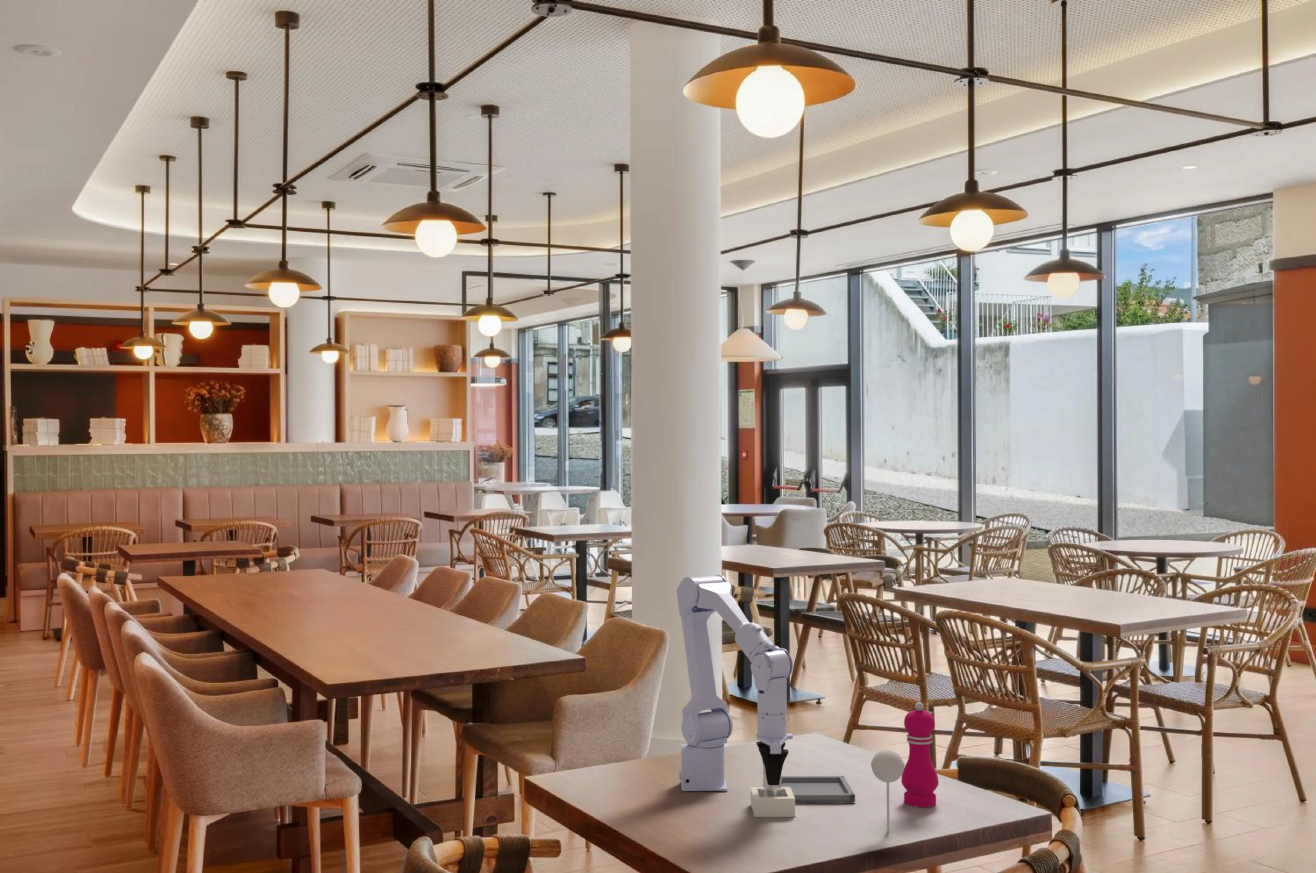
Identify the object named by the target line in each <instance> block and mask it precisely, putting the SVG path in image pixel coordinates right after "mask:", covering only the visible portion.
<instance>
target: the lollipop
mask: <svg viewBox="0 0 1316 873" xmlns="http://www.w3.org/2000/svg"><path fill="white" fill-rule="evenodd" d="M870 762H871V763H870V767H871V770H872V772H873V775H874V776H875V777H876V778H877V779H878V780H879V781H880V782H884V783H886V833H890V831H891V830H890V783H894V782H896V781H898V780H899V779H901V778H902V774H903V771H904V768H905V762H904V760H903V758H902V756H901V754H899V753H898V752H897V751H895V750H892V749H886V748H885V749H881V750H879V751H878V752H876V753H875V754H874V755H873V757H872V760H871V761H870Z"/></svg>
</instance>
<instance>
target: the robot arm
mask: <svg viewBox="0 0 1316 873" xmlns="http://www.w3.org/2000/svg"><path fill="white" fill-rule="evenodd" d="M675 592H676V598H677V605H678V613H679V617H680V620H681V625H682V626H681V627H682V628H681V629H682V635H683V642H684V643H683V644H684V650H685V658H686V666H687V671H688V680H689V688H690V696H691V698H690V700H689V701H688V702H687V703H686V705H685V706H684V707H683V708H682V709H681V713H682V722H681V733H682V736H683V738H684V740H685V741H686V743H682V744H680V771H679V781H680V787H681V791H682V792H726V791H727V792H728V785H727V781H726V778H725V744H728V739H729V738H730V737H731V736H732V733H733V728H734V727H733V719H732V717H731V715H730V713H729V709H728V703H727V702H726V701H724V700H723V699H722V698H721V697H719V696H718V695H717V688H716V681H715V673H714V672H715V671H714V666H713V660H712V652H711V646H710V645H711V644H710V643H711V642H710V637H709V636H710V635H709V630H708V620H709V619H710V617H711V615H713V614H715V613H717V614H718V615H719V616H720V618H722V620H723V621H724V622H725V623H727V625H728V626H729V627H730V628H731V630H733V631H734V632H735V634H734V641H735V643H736V644H737V646H738V647H739V648H740V650H741V651H742V652H743V654H744V655H745V656H746V657H747V659H748V660H749V662H750V663H751V664H750V670H751V673H752V676H753V680H754V687H755V689H756V690H757V692H756V693H757V694H756V696H757V697H756V698H757V710H756V711H757V713H756V714H757V715H756V716H757V718H756V719H757V722H756V723H757V733H756V740H758V741H756V742H755V743H756V746H757V748H758V752H759V754H760V756H761V761H762V763H763V762H764V766H765V772H766V779H767V783H768V785H779V782H780V778H781V776H782V771H783V767H784V764H785V760H786V759H787V756H788V755H789V749H784V748H785V746H786V742H787V741H788V740H793V738H794V735H793V733H791V732H789V733H787V732H788V727H787V726H788V725H787V722H788V721H787V719H788V716H787V715H788V714H787V712H788V711H787V710H788V709H787V706H788V705H787V701H788V700H787V693H788V692H787V684H788V683H787V682H788V680H787V678H789V677H790V676H791V675H792V673H793V668H794V667H793V666H794V664H793V658H792V656H791V655H790V653H789V651H788V650H787V649H785V648H783V647H779V646H778V645H775V644H774V643H773V641H771V639H770V637H768V635H767V634H766V633H765V632H764V630H763V627H762V626H761V625H760V624H758V623H756V622H750V621H749V620H748V619H747V617H746V615H745V614H744V612H743V610H742V609H741V608H740V606H739V604H738V603H737V602H736V600H735V599H734V597H733V596H732V592H733V591H732V585H731V584H730V583H729V582H728V579H726V577H725V576H724V575H722V574H715V575H708V576H707V575H705V576H704V575H703V576H692V577H691V576H685V577H684V578H682V579H681V581H680V583H679V584H678V586H677V588H676V591H675ZM708 710H710V711H708ZM703 711H706V712H703Z"/></svg>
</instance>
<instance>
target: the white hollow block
mask: <svg viewBox="0 0 1316 873" xmlns="http://www.w3.org/2000/svg"><path fill="white" fill-rule="evenodd" d="M750 807H751V811H752V814H753V817H754V818H796V803H795V797H794V795H793V792H792V790H791V788H790V787H781V797H763V786H755V787H754V786H751V787H750Z"/></svg>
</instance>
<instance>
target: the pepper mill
mask: <svg viewBox="0 0 1316 873" xmlns="http://www.w3.org/2000/svg"><path fill="white" fill-rule="evenodd" d="M924 708H925V705H924V704H923V703H922V702H921V701H918V702H916V703H915V704H914V709H913V710H910V711H909V712H907V713H906V715H905V716H904V721H903V725H904V729H905V731H907V734H906V742H907V743H908V745H909V754H908V758H907V761H906V763H905V764H904V771H903V774H902V775H901V779H900V780H901V781H900V782H901V784H902V787H904V789H905V790H906V791H904V793H903V802H904V803H905V805H907V804H908V806H910V805H911V807H914V806H917V807H916V808H929V807H928V806H931V807H934V806H935V805H936V804H937V794H936V793H935V790H936V789H937V788H938V786H939V777H938V773H937V770H936V768H935V766H934V764H933V761H932V756H931V744H932V743H933V735H932V732H933V731H934V730H935V726H936V724H935V723H936V722H935V717H934V716H933V715H932V714H931V713H930V712H929V711H927V710H924ZM933 805H934V806H933Z"/></svg>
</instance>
